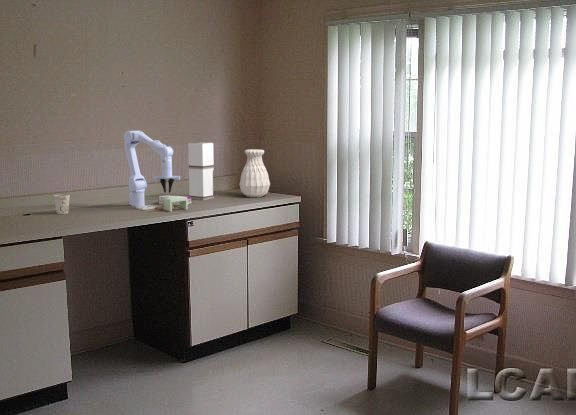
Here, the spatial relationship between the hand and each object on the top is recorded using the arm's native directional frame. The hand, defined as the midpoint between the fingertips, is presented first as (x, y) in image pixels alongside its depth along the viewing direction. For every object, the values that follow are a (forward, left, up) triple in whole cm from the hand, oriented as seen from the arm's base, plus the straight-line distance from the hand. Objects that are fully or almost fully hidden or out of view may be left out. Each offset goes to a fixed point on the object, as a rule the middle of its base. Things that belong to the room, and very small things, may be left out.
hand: (167, 192), depth 370 cm
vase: (-10, +71, -10) cm, 72 cm away
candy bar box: (-6, +18, -7) cm, 20 cm away
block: (0, 0, -9) cm, 9 cm away
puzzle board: (-1, -4, -10) cm, 11 cm away
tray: (-7, -10, -9) cm, 15 cm away
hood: (+8, 0, -9) cm, 12 cm away
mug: (-30, -49, -10) cm, 58 cm away
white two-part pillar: (-25, +40, -10) cm, 48 cm away
